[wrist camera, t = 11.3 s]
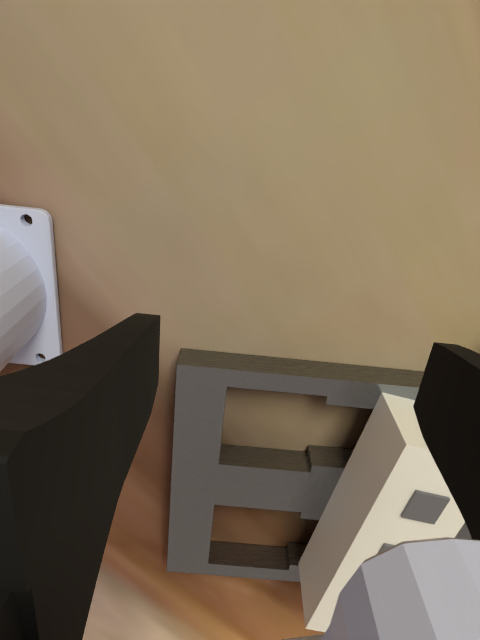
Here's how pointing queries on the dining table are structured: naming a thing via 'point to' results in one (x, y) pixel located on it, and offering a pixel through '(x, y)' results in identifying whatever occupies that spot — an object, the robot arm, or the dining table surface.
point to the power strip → (375, 506)
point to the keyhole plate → (257, 456)
